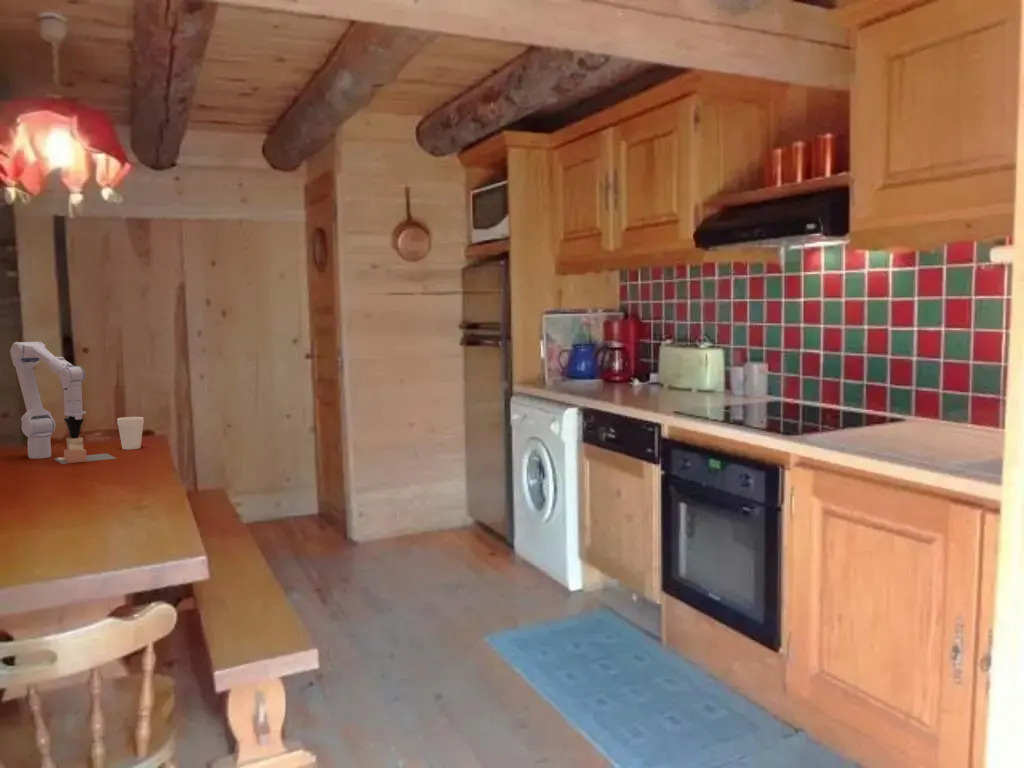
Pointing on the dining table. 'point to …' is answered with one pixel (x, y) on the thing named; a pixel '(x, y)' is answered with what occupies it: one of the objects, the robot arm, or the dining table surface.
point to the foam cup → (130, 431)
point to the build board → (92, 458)
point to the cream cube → (75, 444)
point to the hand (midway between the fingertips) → (74, 437)
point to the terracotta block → (75, 456)
